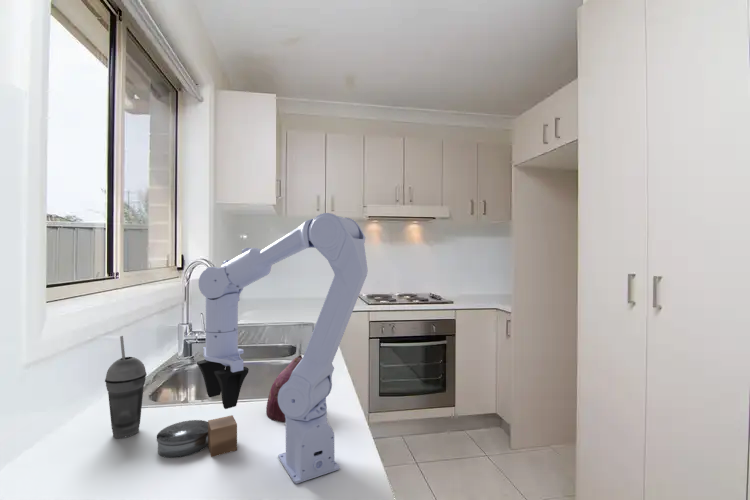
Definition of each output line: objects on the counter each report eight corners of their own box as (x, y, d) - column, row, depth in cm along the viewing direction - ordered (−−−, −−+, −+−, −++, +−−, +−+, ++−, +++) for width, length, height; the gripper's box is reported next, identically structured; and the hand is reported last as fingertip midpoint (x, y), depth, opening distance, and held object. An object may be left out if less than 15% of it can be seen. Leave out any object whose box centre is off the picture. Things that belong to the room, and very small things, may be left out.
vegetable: (313, 418, 91) (329, 357, 93) (300, 432, 81) (319, 363, 83) (273, 405, 92) (290, 345, 94) (256, 418, 82) (275, 350, 84)
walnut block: (237, 450, 70) (237, 424, 70) (211, 457, 68) (211, 429, 68) (232, 440, 74) (232, 415, 74) (207, 446, 72) (207, 420, 72)
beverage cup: (125, 443, 73) (126, 340, 73) (95, 439, 74) (95, 339, 75) (154, 426, 80) (155, 333, 80) (126, 423, 82) (126, 332, 82)
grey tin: (214, 450, 71) (214, 434, 71) (157, 465, 66) (157, 448, 66) (207, 430, 79) (207, 416, 79) (156, 442, 74) (156, 427, 74)
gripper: (259, 332, 69) (259, 406, 69) (227, 322, 79) (227, 386, 79) (220, 338, 64) (220, 418, 64) (192, 326, 74) (192, 395, 74)
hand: (221, 401), depth 71 cm, fingers open, 7 cm apart
